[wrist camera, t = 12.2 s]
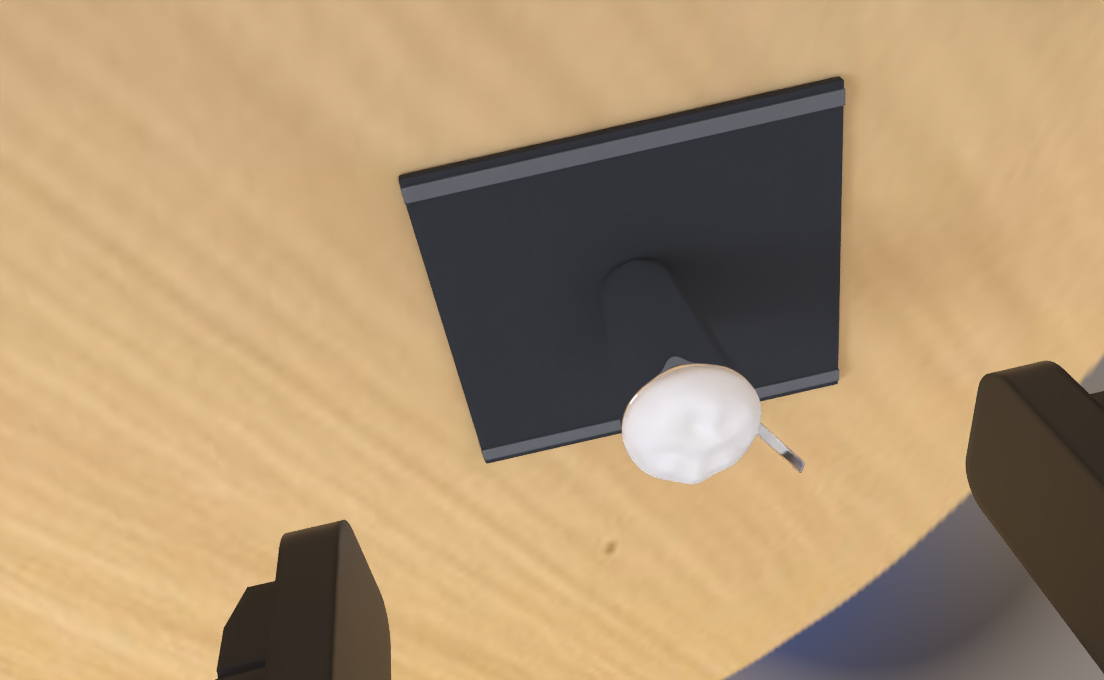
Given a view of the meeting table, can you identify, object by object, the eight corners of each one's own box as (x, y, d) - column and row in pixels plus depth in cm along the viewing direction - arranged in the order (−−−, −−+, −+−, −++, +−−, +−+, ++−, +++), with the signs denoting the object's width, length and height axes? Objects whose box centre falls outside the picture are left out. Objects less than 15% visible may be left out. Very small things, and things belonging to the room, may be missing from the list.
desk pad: (485, 458, 39) (486, 465, 39) (398, 175, 31) (398, 181, 31) (834, 378, 39) (838, 385, 39) (839, 76, 31) (845, 80, 31)
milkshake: (698, 343, 37) (781, 520, 29) (572, 337, 36) (622, 519, 28) (726, 247, 34) (827, 412, 26) (592, 238, 33) (653, 406, 25)
